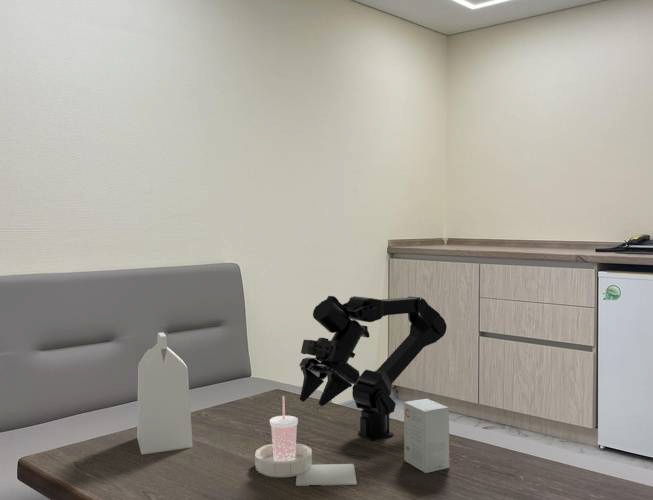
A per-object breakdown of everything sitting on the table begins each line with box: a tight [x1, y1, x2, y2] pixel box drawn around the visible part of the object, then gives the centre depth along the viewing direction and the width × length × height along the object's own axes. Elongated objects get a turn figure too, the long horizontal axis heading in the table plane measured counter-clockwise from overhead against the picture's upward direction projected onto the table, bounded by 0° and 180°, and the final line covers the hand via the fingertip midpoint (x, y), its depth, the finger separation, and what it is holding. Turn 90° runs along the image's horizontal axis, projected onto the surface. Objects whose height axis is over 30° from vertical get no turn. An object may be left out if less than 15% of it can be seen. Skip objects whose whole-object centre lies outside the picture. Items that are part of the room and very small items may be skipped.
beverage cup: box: [269, 395, 299, 461], centre depth 130 cm, size 6×6×14 cm
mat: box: [295, 463, 358, 487], centre depth 125 cm, size 12×10×1 cm
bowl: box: [254, 442, 313, 479], centre depth 130 cm, size 12×12×3 cm
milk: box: [136, 332, 193, 455], centre depth 145 cm, size 12×12×26 cm
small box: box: [403, 398, 450, 474], centre depth 130 cm, size 8×6×13 cm
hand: (310, 403), depth 136 cm, fingers open, 9 cm apart
